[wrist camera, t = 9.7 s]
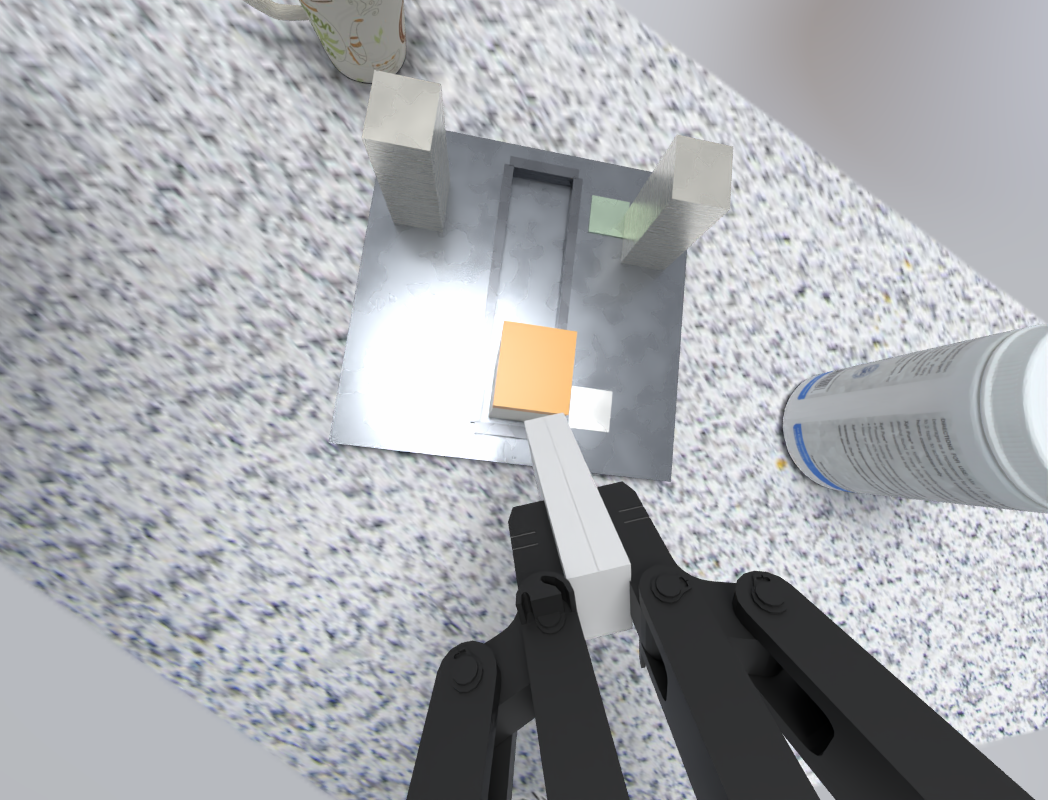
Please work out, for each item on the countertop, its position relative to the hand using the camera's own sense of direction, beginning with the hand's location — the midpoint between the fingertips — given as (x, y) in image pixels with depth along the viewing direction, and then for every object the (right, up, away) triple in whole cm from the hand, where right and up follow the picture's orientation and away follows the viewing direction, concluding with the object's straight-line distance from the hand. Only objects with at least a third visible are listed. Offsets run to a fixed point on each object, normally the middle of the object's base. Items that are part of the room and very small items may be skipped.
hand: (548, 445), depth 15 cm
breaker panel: (-1, +9, +15) cm, 18 cm away
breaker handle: (-1, +2, +13) cm, 13 cm away
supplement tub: (+24, -1, +18) cm, 30 cm away
